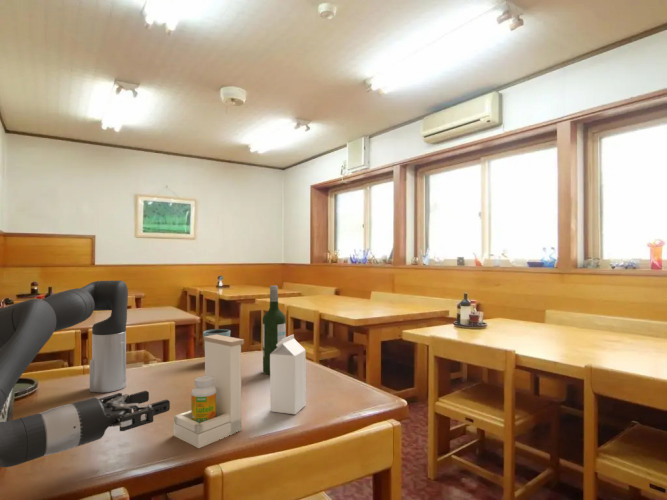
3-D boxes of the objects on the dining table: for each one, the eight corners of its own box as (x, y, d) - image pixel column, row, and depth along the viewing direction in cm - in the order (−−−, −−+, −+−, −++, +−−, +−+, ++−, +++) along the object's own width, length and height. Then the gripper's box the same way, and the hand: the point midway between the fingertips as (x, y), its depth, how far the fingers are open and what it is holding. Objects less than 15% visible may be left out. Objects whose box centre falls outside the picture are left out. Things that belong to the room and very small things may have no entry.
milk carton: (306, 405, 111) (305, 335, 112) (295, 415, 105) (294, 340, 105) (282, 402, 114) (281, 333, 114) (270, 412, 107) (269, 338, 107)
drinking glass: (204, 367, 151) (204, 334, 151) (201, 360, 161) (201, 329, 161) (232, 364, 155) (232, 332, 155) (228, 358, 165) (228, 327, 165)
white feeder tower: (199, 448, 87) (199, 348, 87) (172, 435, 94) (172, 342, 94) (244, 430, 96) (244, 339, 96) (216, 418, 103) (216, 334, 103)
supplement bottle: (193, 427, 90) (193, 383, 90) (189, 419, 95) (189, 376, 95) (218, 423, 93) (218, 379, 93) (213, 415, 97) (213, 373, 98)
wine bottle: (266, 368, 149) (266, 285, 149) (288, 369, 148) (287, 285, 148) (260, 374, 141) (259, 286, 141) (282, 375, 140) (281, 286, 140)
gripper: (86, 414, 69) (176, 388, 81) (55, 396, 78) (141, 375, 90) (86, 459, 69) (176, 427, 81) (56, 436, 77) (141, 409, 90)
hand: (158, 399), depth 86 cm, fingers open, 8 cm apart
